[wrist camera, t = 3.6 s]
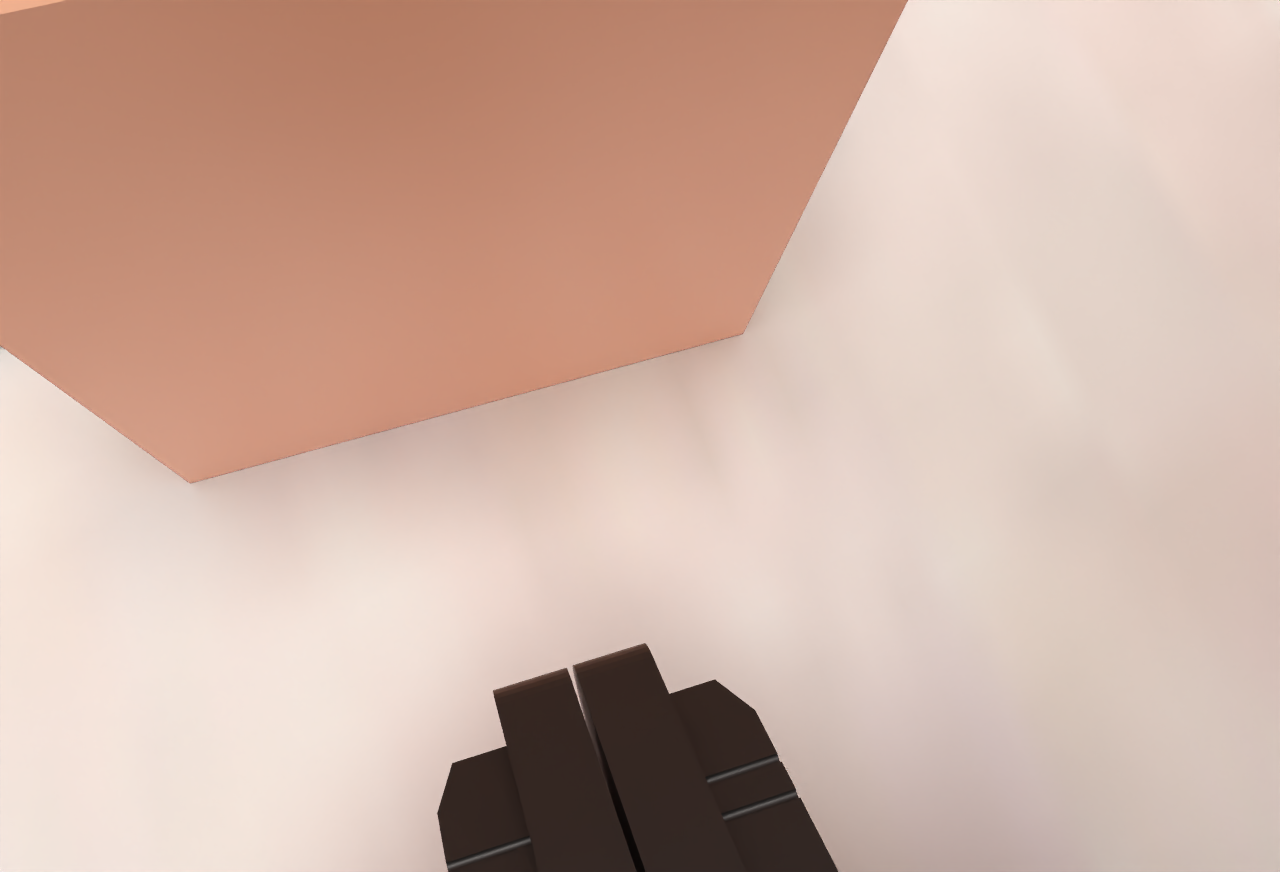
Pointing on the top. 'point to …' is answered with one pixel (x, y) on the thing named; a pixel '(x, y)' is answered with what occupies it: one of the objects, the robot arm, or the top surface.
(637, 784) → the robot arm
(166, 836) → the top surface
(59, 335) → the tile
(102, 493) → the top surface
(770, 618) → the top surface
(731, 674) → the top surface
